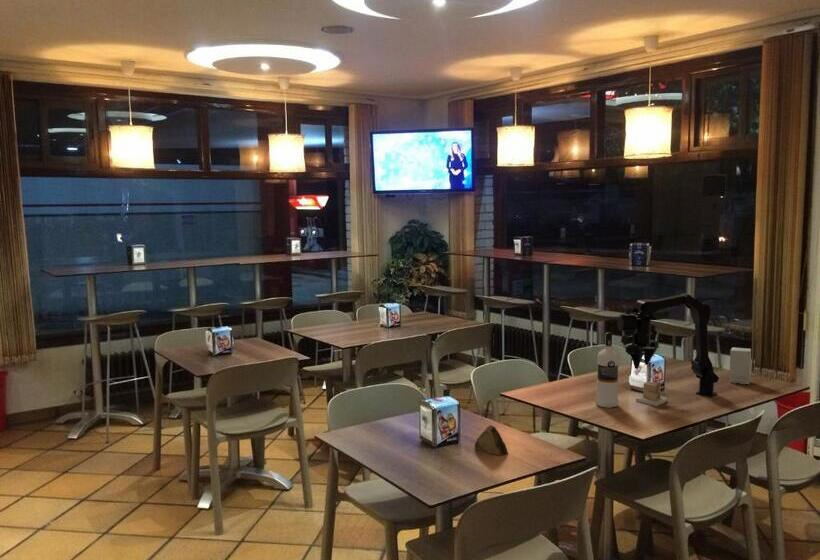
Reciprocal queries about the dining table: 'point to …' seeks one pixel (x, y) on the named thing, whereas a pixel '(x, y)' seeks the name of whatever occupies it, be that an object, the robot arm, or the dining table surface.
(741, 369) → the skincare box
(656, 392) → the oak block
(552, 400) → the dining table surface
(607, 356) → the vodka
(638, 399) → the trivet
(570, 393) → the dining table surface
